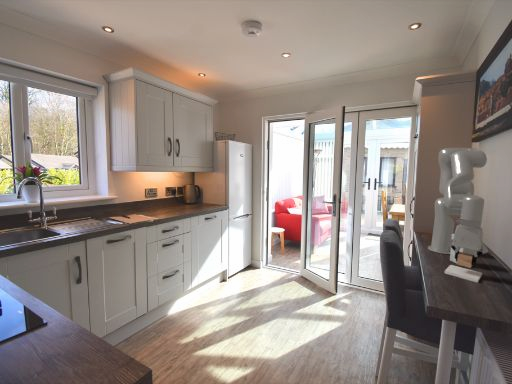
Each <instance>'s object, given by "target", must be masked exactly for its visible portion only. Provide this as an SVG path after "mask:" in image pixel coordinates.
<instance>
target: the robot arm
mask: <svg viewBox="0 0 512 384" xmlns="http://www.w3.org/2000/svg"><path fill="white" fill-rule="evenodd" d="M487 159H488V158H487V154H486V152H484V151H483V150H481V149H478V148H473V147H447V148H446V147H445V148H442V149H440V150H439V152H438V157H437V160H438V161H437V162H438V165H439V169H440V176H439V186H438V187H439V193H440V194H441V195H443V197H439V198H437V199H436V200H435V201H434V220H433V221H434V222H433V227H432V230H433V231H432V235H431V236H432V238H431V245H428V246H427V249H428V250H429V251H431V252H434V253H438V254H442V255H443V254H444V255H450V252H451V248H452V249H453V250H454V251H455V259H456V261H457V260H458V254H459V253H460V252H459V250H460V248H464V249H469V250H473V256H472V264H471V265H472V266H474V265H475V264H477V262H478V261H477V259H478V257H479V256H482V255H484V254H487V253H489V250H488V248H487V247H486V246H485V244H484V243H483V242H484V230H483V228H482V220H483V214H484V207H485V199H484V198H483V197H481V196H478V195H475V194H474V193H475V185H474V182H473V181H472V180H474V178H475V172H474V168H475V169H476V168H478V169H481V168H483V167H485V166H486V165H487V163H488V162H487V161H488V160H487ZM452 216H460V218H457V219H455V221H454V220H453V218H452ZM455 223H458V224H457V225H456V226H455ZM454 228H455V230H454ZM452 234H454V239H452ZM451 239H452V240H451ZM452 243H453V244H452ZM455 246H456V247H455Z"/></svg>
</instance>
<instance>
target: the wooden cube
mask: <svg viewBox="0 0 512 384" xmlns="http://www.w3.org/2000/svg"><path fill="white" fill-rule="evenodd" d="M473 255H474V254H468V253H464V252H460V253H459V254H458V260H457V263H456V266H457V265H458V266H461V267H464V268H465V267H466V268H468V269H469V268H470V269H471V268H472V267H473V265H471V264H472V256H473Z"/></svg>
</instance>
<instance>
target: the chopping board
mask: <svg viewBox="0 0 512 384" xmlns="http://www.w3.org/2000/svg"><path fill="white" fill-rule="evenodd" d="M444 274H446V275H450V276H453V277H456V278H460V279H463V280H466V281H471V282H474V283H477V284H478V283H479V281H480V280H481V278H482V276H483V272H480V271H476V270H472V269H469V268H465V267H462V266H461V267H460V266H457V265H453V264H450V265H448V267H447V268H445V270H444Z"/></svg>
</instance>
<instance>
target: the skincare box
mask: <svg viewBox="0 0 512 384" xmlns="http://www.w3.org/2000/svg"><path fill="white" fill-rule="evenodd" d="M454 234H455V233H453V234H452V239H454ZM452 239H451V240H452ZM452 244H453V243H452ZM455 247H456V246H455ZM459 252H464V253H468V254H473V250H469V249H464V248H460V250H459ZM473 255H474V254H473ZM449 261H450V262H453V263H454V264H457V261H456V259H455V251H454V250H453V249H452V248H451V252H450V254H449Z"/></svg>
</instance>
